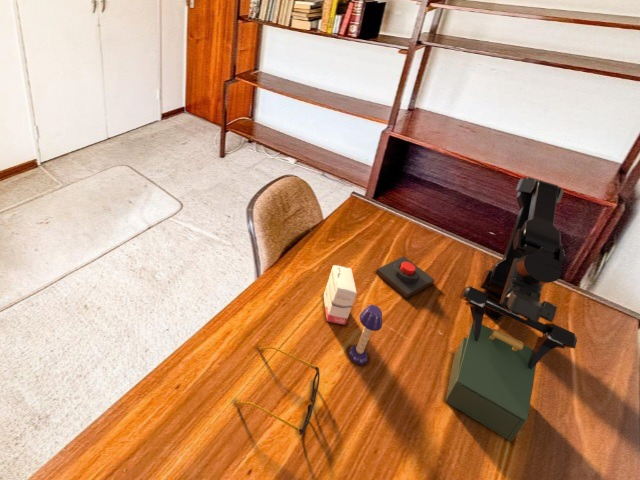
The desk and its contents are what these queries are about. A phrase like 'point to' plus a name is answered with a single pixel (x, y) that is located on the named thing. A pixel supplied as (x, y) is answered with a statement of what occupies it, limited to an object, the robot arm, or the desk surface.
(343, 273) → the ink box
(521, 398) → the chest lid
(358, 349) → the toy lamp
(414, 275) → the button base
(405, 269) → the button
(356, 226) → the desk surface
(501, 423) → the chest
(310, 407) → the eyeglasses
